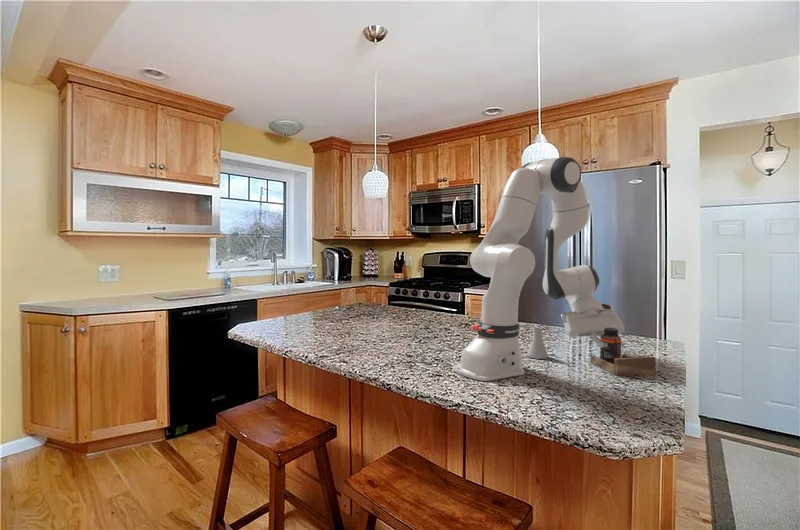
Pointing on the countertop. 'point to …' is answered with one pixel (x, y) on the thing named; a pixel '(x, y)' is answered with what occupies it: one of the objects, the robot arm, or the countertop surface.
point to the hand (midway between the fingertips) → (603, 345)
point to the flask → (537, 345)
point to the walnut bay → (627, 365)
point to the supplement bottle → (610, 345)
